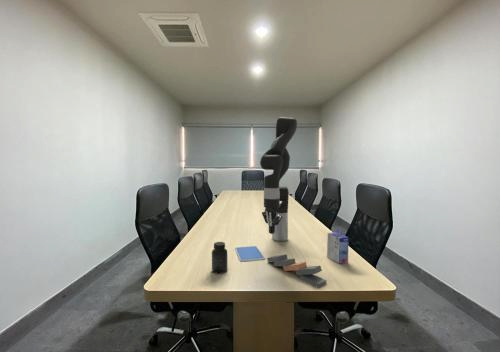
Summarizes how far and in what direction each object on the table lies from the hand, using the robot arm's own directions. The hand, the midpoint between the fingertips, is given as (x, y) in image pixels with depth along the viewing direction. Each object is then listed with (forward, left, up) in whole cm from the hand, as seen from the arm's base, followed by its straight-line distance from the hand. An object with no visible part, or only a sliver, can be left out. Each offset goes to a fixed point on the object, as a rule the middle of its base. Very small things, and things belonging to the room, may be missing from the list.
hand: (271, 233), depth 113 cm
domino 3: (+11, 0, -13) cm, 17 cm away
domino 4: (+17, +1, -12) cm, 21 cm away
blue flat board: (-15, -3, -15) cm, 21 cm away
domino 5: (+20, 0, -13) cm, 24 cm away
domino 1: (-1, 0, -13) cm, 13 cm away
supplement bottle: (-6, -25, -14) cm, 29 cm away
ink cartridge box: (+17, +27, -14) cm, 35 cm away
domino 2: (+5, 0, -13) cm, 14 cm away
